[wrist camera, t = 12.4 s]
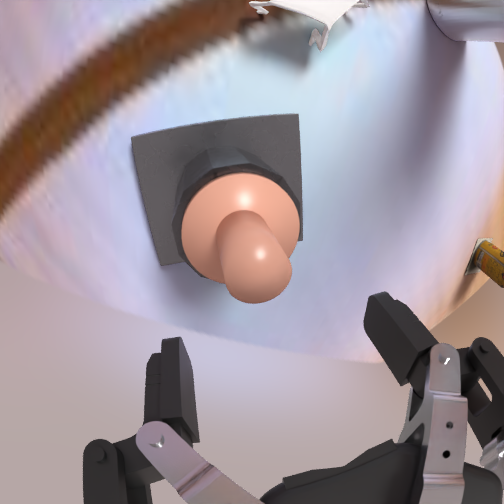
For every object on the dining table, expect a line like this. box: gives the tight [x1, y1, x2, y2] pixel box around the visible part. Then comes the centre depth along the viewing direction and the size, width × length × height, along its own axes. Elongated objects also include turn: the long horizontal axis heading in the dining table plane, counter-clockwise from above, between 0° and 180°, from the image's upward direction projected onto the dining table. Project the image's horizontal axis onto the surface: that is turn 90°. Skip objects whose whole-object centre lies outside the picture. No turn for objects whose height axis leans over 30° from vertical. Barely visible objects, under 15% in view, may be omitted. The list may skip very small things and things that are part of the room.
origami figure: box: [249, 0, 370, 52], centre depth 19 cm, size 12×8×5 cm
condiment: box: [465, 238, 504, 288], centre depth 40 cm, size 7×8×12 cm
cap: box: [182, 172, 300, 304], centre depth 18 cm, size 8×8×8 cm
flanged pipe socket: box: [131, 113, 303, 279], centre depth 24 cm, size 16×14×10 cm
